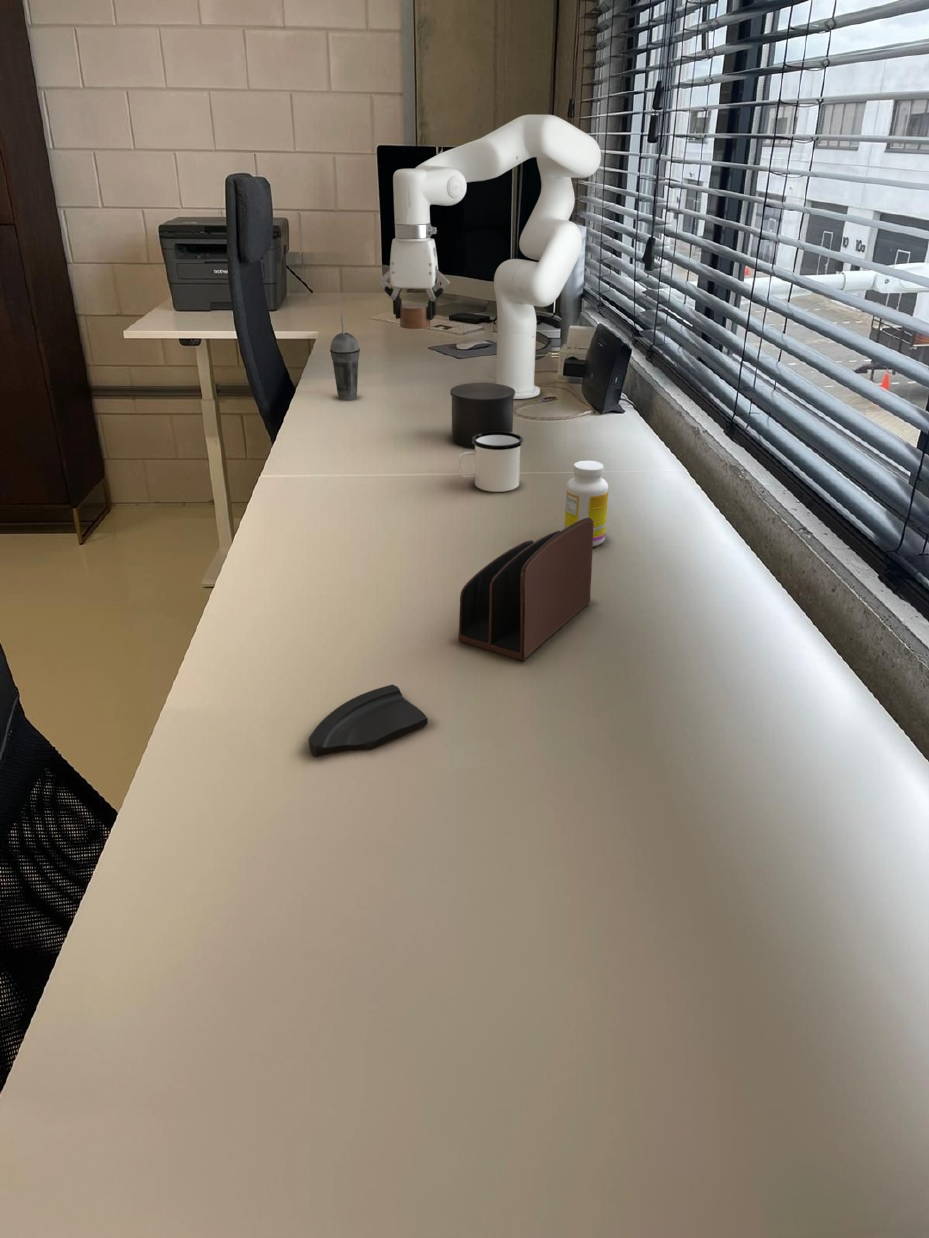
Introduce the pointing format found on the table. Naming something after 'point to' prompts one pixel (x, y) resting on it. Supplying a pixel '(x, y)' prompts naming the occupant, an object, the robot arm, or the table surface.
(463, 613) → the letter holder
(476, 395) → the pot
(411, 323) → the short brown cylinder
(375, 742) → the fan shaped piece
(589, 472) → the supplement bottle
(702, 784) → the table surface
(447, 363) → the table surface
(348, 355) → the beverage cup
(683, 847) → the table surface
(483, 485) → the mug
